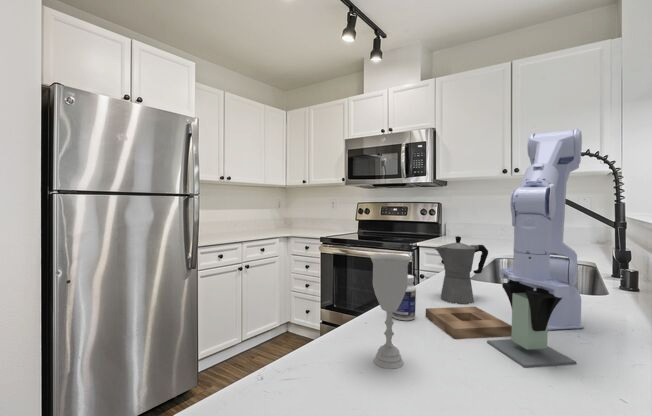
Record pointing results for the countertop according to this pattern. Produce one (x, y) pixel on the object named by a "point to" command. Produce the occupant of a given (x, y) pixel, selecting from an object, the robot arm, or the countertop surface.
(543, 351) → the slate mat
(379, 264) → the chalice
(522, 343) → the sage block
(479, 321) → the pocket holder
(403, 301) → the pill bottle
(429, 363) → the countertop surface
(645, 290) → the countertop surface
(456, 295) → the coffeepot
